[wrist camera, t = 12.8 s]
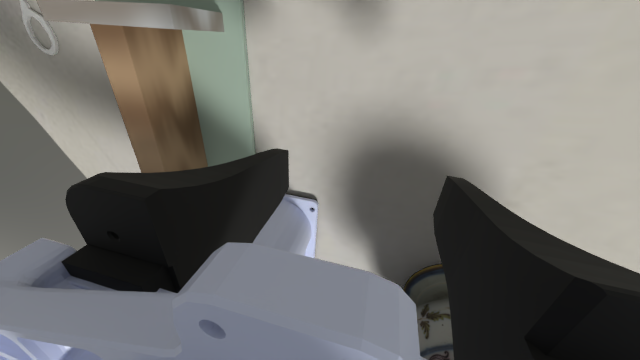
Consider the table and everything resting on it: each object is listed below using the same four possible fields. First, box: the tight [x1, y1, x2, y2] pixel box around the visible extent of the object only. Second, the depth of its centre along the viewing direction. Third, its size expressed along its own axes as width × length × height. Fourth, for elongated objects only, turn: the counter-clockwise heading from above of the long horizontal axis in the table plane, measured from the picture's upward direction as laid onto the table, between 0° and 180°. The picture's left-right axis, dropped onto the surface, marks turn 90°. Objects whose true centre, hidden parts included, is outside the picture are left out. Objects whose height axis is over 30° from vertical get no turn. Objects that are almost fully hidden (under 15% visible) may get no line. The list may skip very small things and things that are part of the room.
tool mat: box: [95, 0, 255, 167], centre depth 22 cm, size 15×13×1 cm
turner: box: [37, 0, 224, 173], centre depth 20 cm, size 13×10×5 cm
